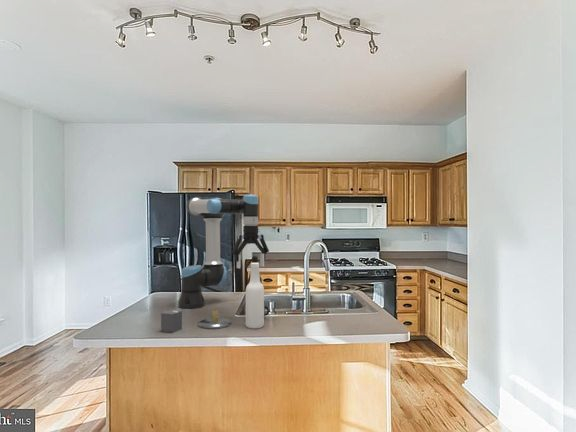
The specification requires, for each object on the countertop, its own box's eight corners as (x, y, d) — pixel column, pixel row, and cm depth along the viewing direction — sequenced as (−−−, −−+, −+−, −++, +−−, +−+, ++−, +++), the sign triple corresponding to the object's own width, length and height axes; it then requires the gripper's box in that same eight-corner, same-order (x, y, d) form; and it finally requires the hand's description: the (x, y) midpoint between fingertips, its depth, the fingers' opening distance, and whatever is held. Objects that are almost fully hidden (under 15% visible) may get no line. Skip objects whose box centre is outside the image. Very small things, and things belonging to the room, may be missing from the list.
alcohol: (246, 323, 179) (247, 261, 180) (264, 323, 179) (265, 262, 180) (244, 328, 170) (244, 264, 171) (263, 329, 170) (263, 264, 171)
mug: (265, 323, 180) (265, 304, 181) (243, 320, 184) (243, 302, 184) (272, 318, 189) (272, 300, 189) (251, 316, 193) (251, 299, 193)
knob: (161, 331, 167) (161, 311, 167) (170, 327, 173) (170, 308, 173) (172, 332, 164) (173, 313, 165) (181, 328, 170) (181, 309, 171)
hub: (192, 323, 179) (192, 309, 179) (221, 318, 189) (221, 304, 189) (207, 331, 167) (207, 315, 167) (238, 324, 177) (238, 310, 177)
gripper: (231, 225, 177) (231, 269, 176) (275, 225, 191) (275, 266, 190) (225, 225, 183) (224, 268, 182) (267, 225, 197) (267, 264, 197)
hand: (250, 267), depth 186 cm, fingers open, 13 cm apart
